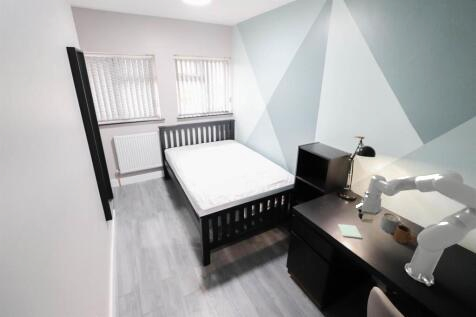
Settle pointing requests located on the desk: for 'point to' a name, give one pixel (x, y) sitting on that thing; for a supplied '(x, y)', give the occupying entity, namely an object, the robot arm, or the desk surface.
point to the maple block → (367, 217)
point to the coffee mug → (390, 222)
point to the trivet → (349, 231)
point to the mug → (403, 234)
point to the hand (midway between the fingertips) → (365, 218)
